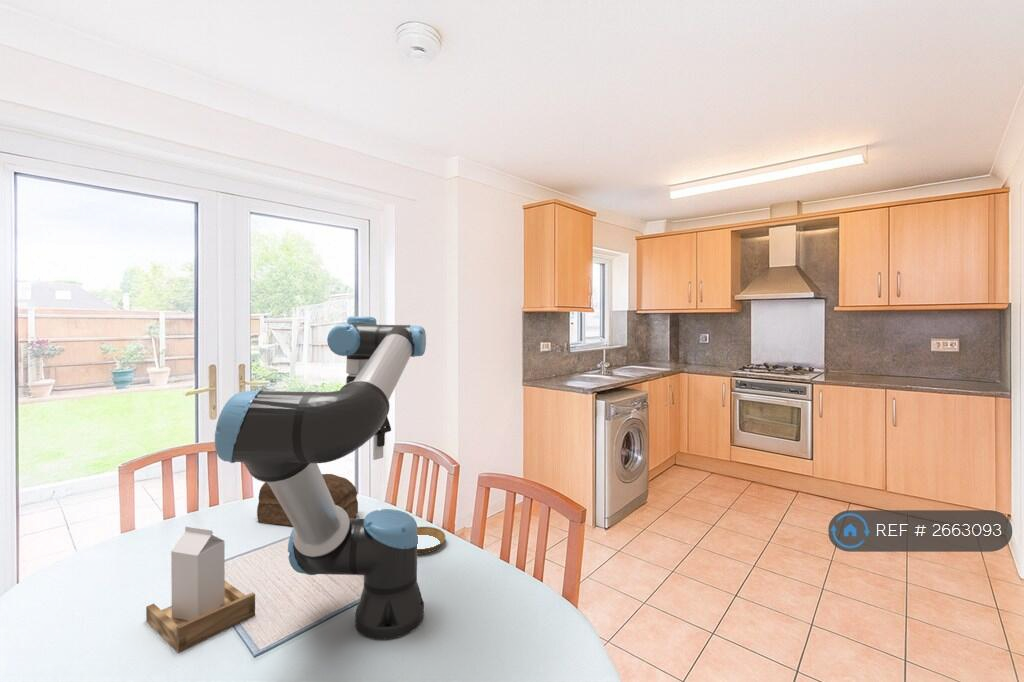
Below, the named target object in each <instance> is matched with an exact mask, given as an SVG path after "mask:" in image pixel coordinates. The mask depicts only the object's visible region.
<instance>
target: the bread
mask: <svg viewBox="0 0 1024 682" xmlns="http://www.w3.org/2000/svg"><path fill="white" fill-rule="evenodd" d="M321 474H322V476H323V478H324V481H325V483H326V485H327V488H328V490H329V492H330V494H331V497H332V499H333V501H334V504H335V505H337V506H339V507H341V508H343V509H344V510H345V511H346V513H347V514H348V516H349V518H355V517H356V516H357V514H358V511H359V501H358V498H357V497H358V491H357V488H356V486H355V485H354V484H353V483H352V482H351V481H350V480H348V479H347V478H345V477H343V476H339V475H336V474H332V473H321ZM256 516H257V520H258V522H259V523H262V524H263V523H264V524H273V525H283V526H284V525H285V526H291V527H293V525H292V524H291V522H290V520H289V519H288V517H287V515H286V513H285V512H284V510H283V508H282V507H281V505H280V503H279V501H278V500H277V498H276V496H275V494H274V493H273V491H272V489H271V488H270V486H269V484H268V483H267V482H263V485H261V487H260V490H259V493H258V504H257V509H256Z"/></svg>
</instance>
